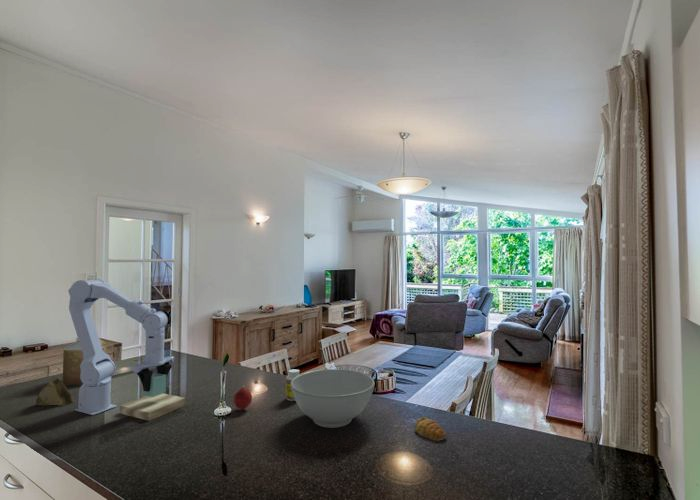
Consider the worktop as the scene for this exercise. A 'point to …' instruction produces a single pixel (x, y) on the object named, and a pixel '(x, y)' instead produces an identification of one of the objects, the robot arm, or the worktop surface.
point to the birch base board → (152, 406)
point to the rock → (54, 394)
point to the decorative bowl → (332, 395)
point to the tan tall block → (74, 362)
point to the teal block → (156, 385)
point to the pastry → (429, 429)
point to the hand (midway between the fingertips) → (154, 388)
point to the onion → (242, 398)
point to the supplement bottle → (289, 378)
